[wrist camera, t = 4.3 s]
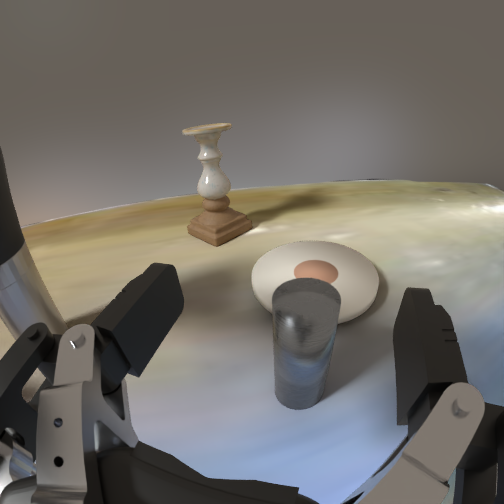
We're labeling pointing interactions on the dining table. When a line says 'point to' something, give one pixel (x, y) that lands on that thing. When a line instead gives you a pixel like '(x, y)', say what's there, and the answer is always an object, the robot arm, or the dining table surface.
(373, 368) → the dining table surface
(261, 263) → the disc
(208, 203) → the candle holder
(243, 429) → the dining table surface
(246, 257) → the dining table surface
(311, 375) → the cup
